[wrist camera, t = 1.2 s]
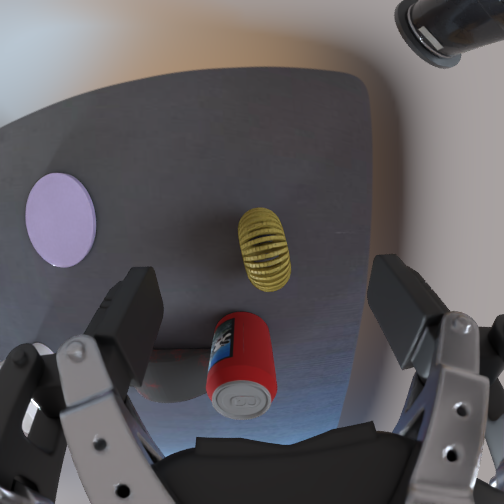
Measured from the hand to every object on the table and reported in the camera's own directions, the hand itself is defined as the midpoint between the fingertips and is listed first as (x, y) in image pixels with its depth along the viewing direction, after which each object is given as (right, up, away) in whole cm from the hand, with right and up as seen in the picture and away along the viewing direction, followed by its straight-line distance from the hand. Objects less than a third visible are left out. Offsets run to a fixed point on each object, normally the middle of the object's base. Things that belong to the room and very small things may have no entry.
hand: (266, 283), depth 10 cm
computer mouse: (-12, -15, +26) cm, 32 cm away
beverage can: (-2, -9, +24) cm, 26 cm away
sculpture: (+1, +3, +21) cm, 21 cm away
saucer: (-25, +5, +19) cm, 31 cm away
